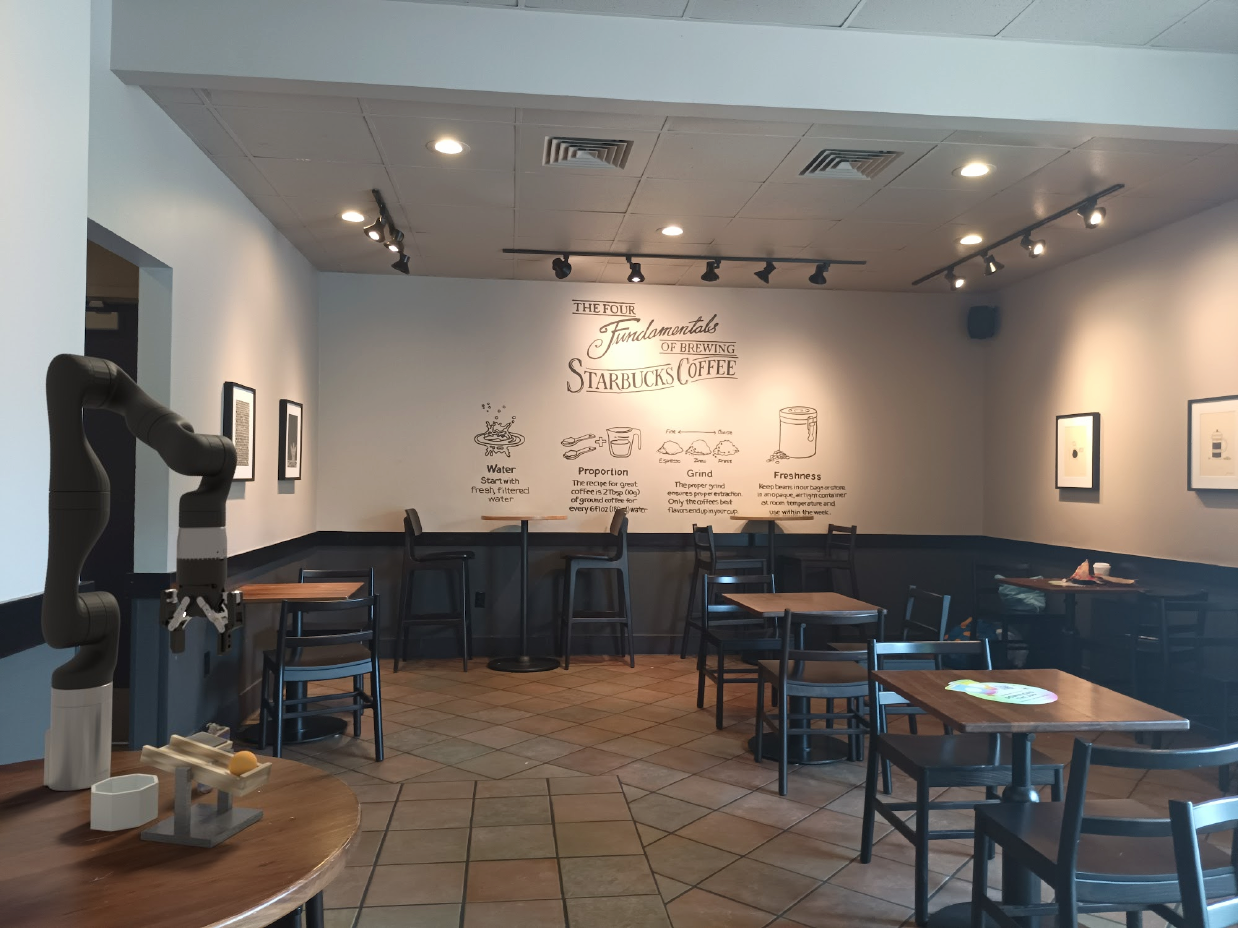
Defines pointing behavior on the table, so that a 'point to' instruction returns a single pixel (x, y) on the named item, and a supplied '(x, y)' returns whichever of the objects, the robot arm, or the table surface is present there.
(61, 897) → the table surface
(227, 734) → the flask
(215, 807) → the lever stand
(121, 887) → the table surface
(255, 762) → the ball
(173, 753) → the lever
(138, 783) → the cup
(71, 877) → the table surface
